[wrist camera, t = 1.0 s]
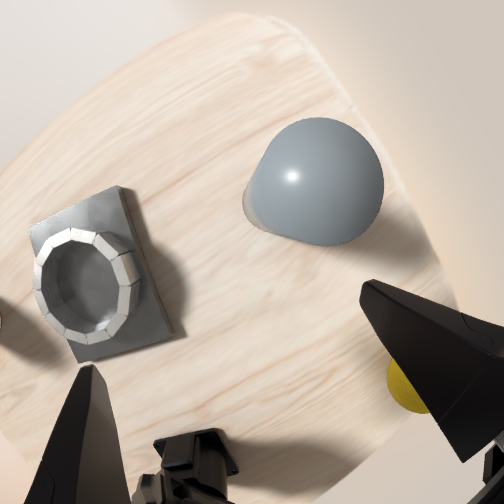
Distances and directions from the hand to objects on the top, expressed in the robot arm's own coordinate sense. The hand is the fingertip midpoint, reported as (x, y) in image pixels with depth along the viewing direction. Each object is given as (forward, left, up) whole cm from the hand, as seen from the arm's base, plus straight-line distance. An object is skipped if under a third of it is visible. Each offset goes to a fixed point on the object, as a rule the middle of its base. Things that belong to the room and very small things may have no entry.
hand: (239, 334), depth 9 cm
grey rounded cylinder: (+4, -4, -14) cm, 15 cm away
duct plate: (+3, +11, -14) cm, 18 cm away
